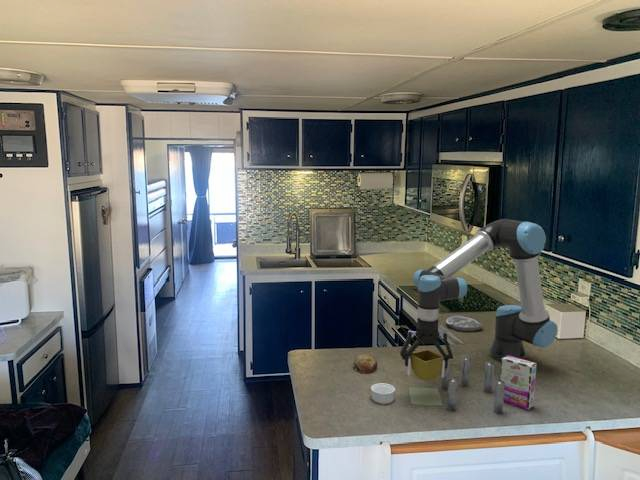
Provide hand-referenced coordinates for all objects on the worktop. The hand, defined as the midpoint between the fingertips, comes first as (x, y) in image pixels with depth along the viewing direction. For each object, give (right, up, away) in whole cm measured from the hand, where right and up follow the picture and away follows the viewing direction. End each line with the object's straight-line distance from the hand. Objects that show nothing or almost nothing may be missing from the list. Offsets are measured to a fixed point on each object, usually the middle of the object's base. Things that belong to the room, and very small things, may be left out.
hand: (425, 375), depth 187 cm
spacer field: (+17, -9, +2) cm, 19 cm away
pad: (0, -9, +1) cm, 9 cm away
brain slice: (+35, +4, +78) cm, 86 cm away
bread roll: (-20, -5, +27) cm, 34 cm away
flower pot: (0, -1, 0) cm, 1 cm away
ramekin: (-16, -9, 0) cm, 18 cm away
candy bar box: (+32, -10, -3) cm, 34 cm away
